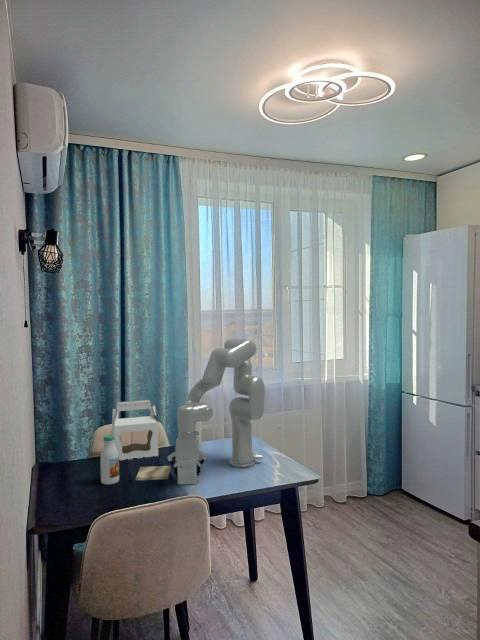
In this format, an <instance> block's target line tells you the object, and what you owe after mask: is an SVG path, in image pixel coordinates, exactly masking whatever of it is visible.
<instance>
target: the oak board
mask: <svg viewBox="0 0 480 640" xmlns="http://www.w3.org/2000/svg"><path fill="white" fill-rule="evenodd" d="M171 469H172V467H171V465H162V466H161V465H160V466H156V465H155V466H140V467H139V470H138V472H137V475H136V477H135V481H153V480H154V481H155V480H169V477H170V474H171V473H170V472H171Z"/></svg>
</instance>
